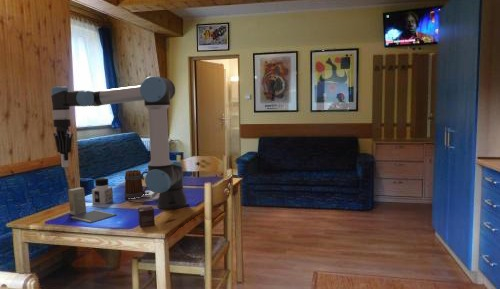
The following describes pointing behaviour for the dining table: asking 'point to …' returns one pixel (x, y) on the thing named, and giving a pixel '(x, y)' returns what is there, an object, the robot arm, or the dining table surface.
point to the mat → (93, 216)
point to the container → (102, 192)
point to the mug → (134, 184)
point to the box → (146, 216)
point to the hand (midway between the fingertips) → (65, 166)
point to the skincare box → (77, 201)
